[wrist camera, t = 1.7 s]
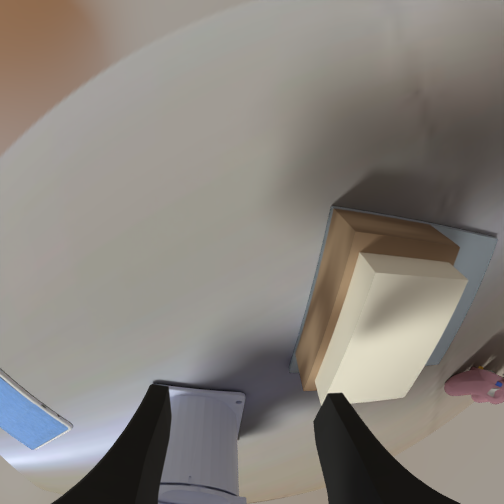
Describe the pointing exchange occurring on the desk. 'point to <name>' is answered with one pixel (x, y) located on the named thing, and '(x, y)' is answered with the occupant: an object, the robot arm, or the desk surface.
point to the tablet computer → (28, 416)
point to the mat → (467, 263)
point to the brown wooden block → (342, 267)
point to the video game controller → (477, 385)
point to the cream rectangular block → (388, 326)
